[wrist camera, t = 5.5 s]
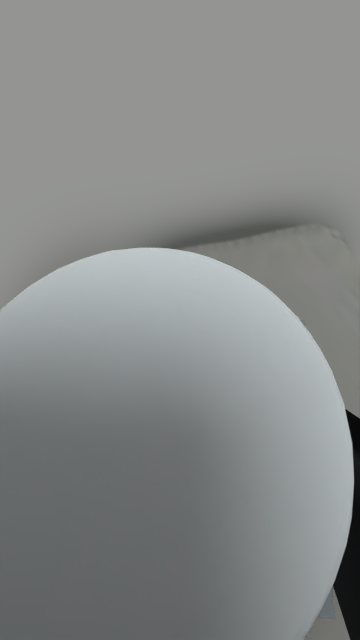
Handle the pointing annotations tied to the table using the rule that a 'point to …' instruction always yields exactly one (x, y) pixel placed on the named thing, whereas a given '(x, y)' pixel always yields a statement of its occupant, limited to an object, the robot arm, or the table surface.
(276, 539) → the supplement bottle
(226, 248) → the table surface
